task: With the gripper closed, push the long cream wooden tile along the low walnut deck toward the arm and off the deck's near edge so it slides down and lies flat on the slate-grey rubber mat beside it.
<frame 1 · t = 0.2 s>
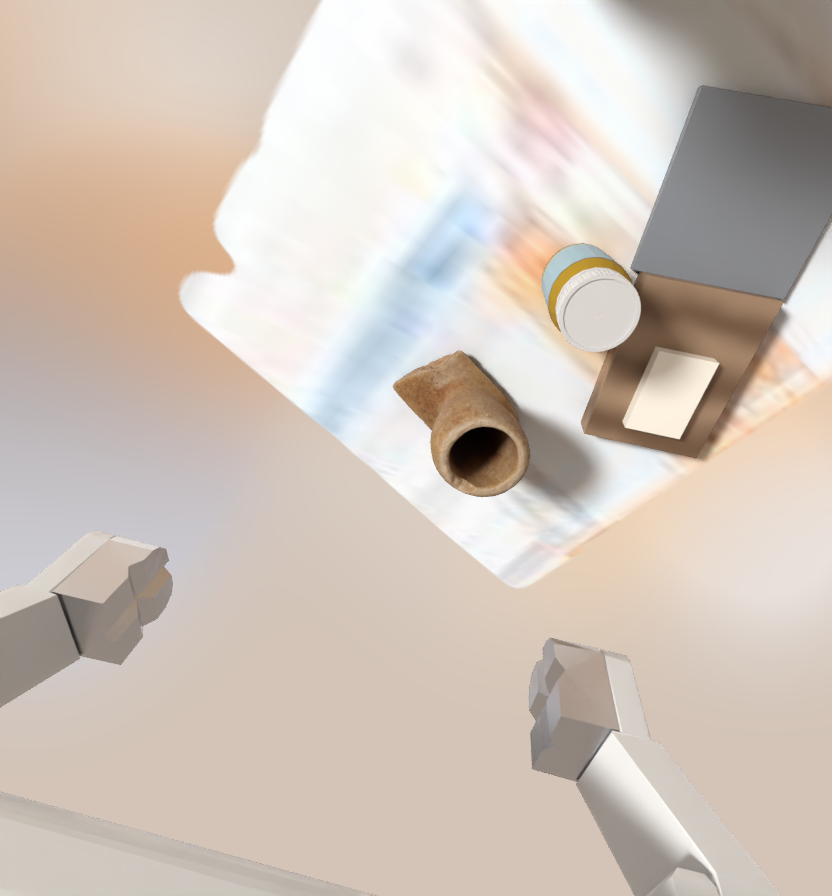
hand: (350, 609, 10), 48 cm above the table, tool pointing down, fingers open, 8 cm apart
tile: (665, 391, 51), point 3 cm above the table, touching deck
mat: (742, 200, 44), on the table
bottle: (575, 277, 50), on the table
deck: (665, 364, 53), on the table
stone cup: (468, 396, 59), on the table
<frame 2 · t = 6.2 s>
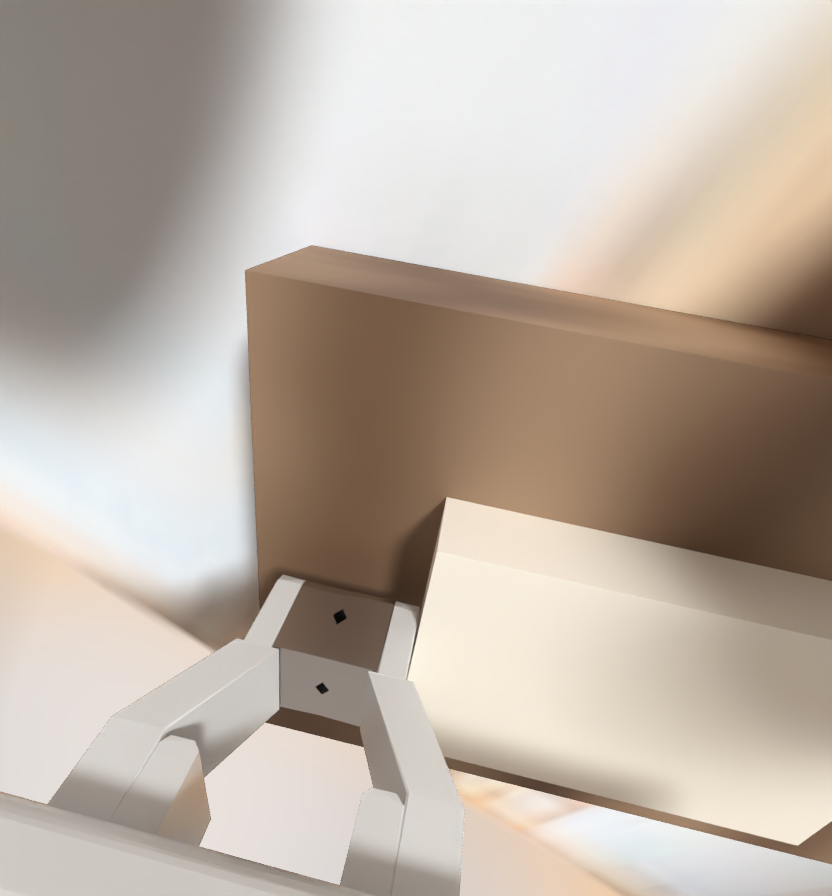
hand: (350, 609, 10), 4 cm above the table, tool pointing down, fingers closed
tile: (625, 651, 10), point 3 cm above the table, touching gripper
deck: (626, 560, 13), on the table
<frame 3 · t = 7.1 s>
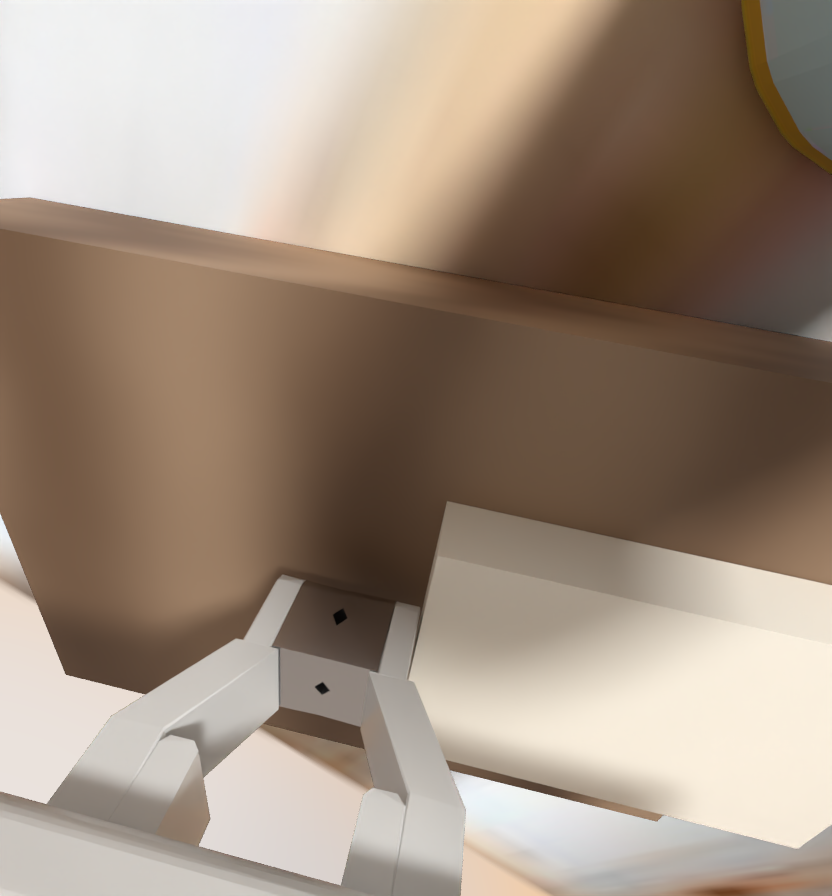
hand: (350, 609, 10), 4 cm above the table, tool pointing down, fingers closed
tile: (625, 654, 10), point 3 cm above the table, touching gripper
deck: (394, 512, 13), on the table
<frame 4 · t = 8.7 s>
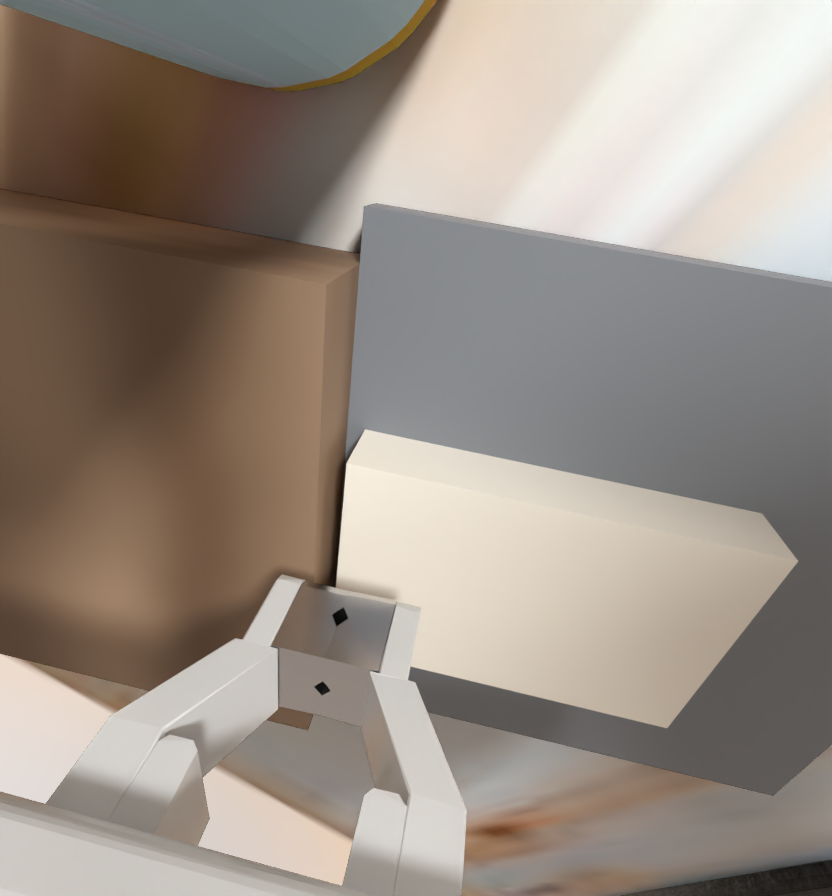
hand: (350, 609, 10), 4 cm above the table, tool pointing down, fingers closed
tile: (523, 565, 12), point 1 cm above the table, touching mat
mat: (618, 557, 13), on the table
deck: (54, 435, 14), on the table
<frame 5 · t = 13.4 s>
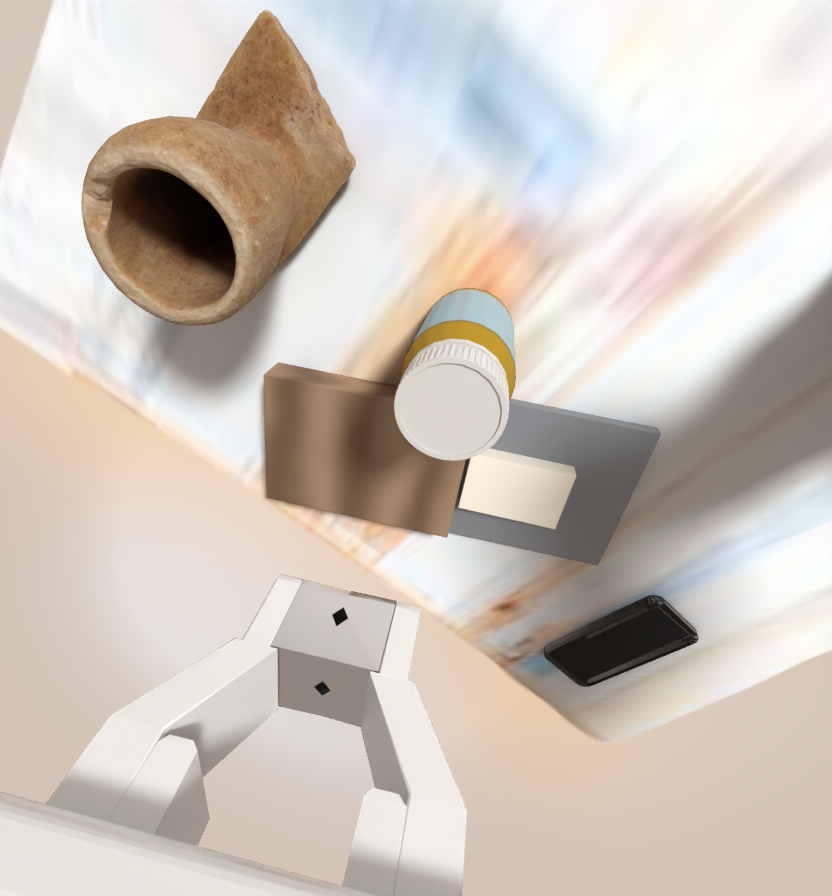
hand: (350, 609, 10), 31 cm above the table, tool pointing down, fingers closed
tile: (514, 483, 43), point 1 cm above the table, touching mat
mat: (542, 481, 44), on the table
bottle: (468, 330, 38), on the table
phone: (615, 637, 53), on the table
deck: (369, 445, 45), on the table
stone cup: (278, 184, 35), on the table
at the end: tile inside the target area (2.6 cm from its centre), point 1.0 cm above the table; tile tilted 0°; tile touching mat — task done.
